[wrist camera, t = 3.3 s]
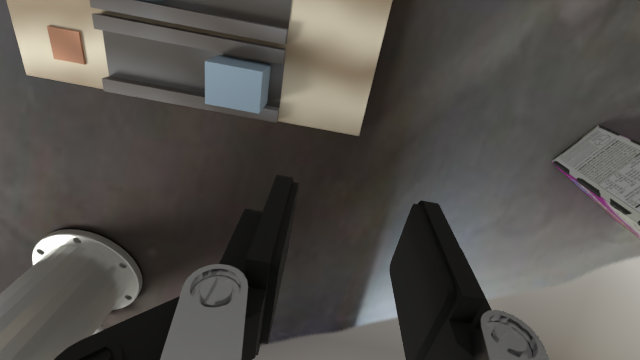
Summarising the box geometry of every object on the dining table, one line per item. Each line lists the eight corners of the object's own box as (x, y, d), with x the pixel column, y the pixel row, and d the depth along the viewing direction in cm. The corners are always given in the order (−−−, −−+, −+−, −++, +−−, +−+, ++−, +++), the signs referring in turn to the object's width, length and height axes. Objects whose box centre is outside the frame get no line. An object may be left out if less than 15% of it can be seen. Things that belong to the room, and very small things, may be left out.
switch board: (357, 128, 29) (359, 140, 27) (46, 70, 28) (15, 77, 26) (395, -26, 23) (402, -30, 21) (4, -106, 22) (-41, -121, 20)
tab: (267, 102, 26) (259, 113, 24) (218, 93, 26) (204, 103, 23) (270, 64, 25) (262, 72, 22) (219, 54, 25) (204, 61, 22)
